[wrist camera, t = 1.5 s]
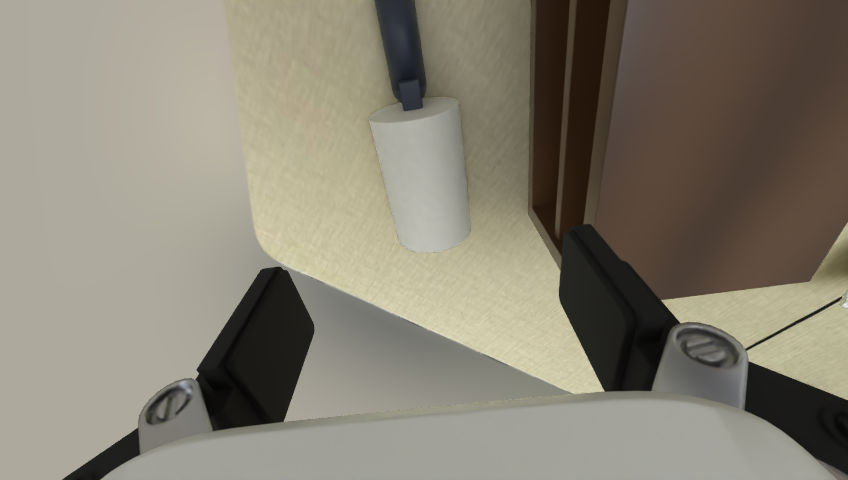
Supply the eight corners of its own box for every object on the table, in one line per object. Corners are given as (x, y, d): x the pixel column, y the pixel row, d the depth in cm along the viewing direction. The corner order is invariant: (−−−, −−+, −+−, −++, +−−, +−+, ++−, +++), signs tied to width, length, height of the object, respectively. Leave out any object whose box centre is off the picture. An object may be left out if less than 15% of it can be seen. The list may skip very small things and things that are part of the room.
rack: (528, 214, 28) (582, 310, 19) (531, -73, 18) (650, -164, 9) (677, 192, 27) (810, 282, 18) (767, -122, 17) (1168, -281, 8)
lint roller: (464, 207, 28) (478, 245, 23) (397, 219, 28) (398, 259, 23) (437, -43, 19) (450, -64, 14) (340, -23, 19) (321, -37, 14)
